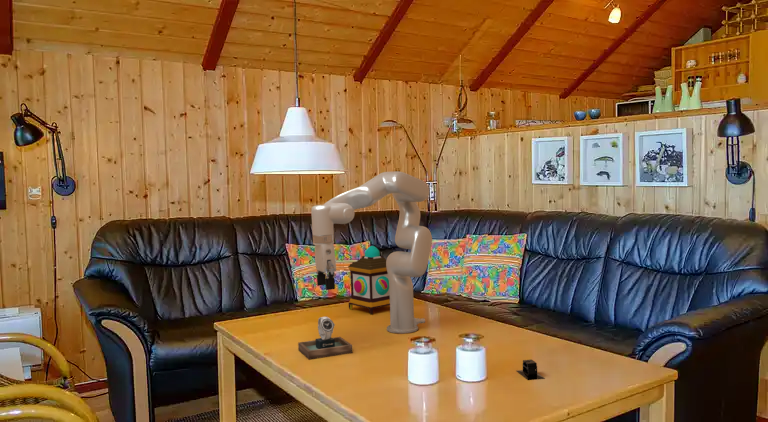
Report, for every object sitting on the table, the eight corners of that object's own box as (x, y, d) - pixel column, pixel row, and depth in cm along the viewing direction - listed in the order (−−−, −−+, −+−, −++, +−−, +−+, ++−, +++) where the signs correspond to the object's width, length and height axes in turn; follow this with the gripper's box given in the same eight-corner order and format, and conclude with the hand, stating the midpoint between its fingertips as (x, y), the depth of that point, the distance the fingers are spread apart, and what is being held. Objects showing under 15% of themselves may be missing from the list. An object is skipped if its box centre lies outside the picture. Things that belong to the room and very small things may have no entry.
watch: (322, 351, 209) (321, 320, 209) (314, 346, 216) (312, 316, 216) (337, 349, 212) (336, 318, 211) (328, 343, 219) (327, 314, 218)
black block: (511, 371, 188) (510, 356, 188) (533, 369, 189) (532, 354, 189) (527, 384, 176) (527, 368, 175) (550, 381, 177) (550, 366, 177)
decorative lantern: (377, 303, 296) (375, 242, 294) (404, 309, 280) (402, 245, 279) (344, 309, 283) (342, 246, 281) (370, 316, 268) (368, 249, 266)
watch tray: (340, 344, 223) (340, 336, 223) (352, 352, 211) (352, 345, 211) (298, 350, 217) (298, 342, 216) (308, 359, 205) (308, 351, 205)
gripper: (341, 240, 207) (344, 289, 208) (325, 236, 223) (328, 282, 224) (320, 242, 204) (323, 292, 205) (306, 238, 220) (308, 284, 221)
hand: (326, 287), depth 215 cm, fingers open, 9 cm apart
